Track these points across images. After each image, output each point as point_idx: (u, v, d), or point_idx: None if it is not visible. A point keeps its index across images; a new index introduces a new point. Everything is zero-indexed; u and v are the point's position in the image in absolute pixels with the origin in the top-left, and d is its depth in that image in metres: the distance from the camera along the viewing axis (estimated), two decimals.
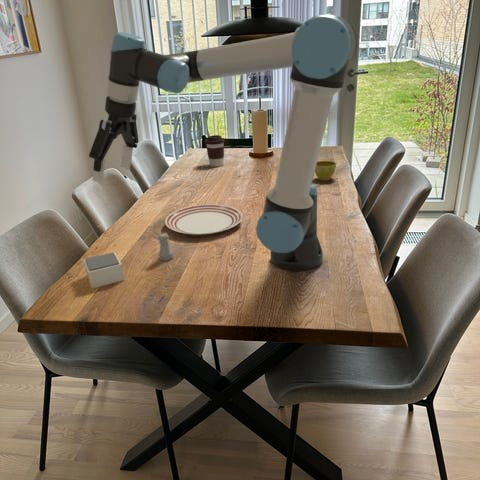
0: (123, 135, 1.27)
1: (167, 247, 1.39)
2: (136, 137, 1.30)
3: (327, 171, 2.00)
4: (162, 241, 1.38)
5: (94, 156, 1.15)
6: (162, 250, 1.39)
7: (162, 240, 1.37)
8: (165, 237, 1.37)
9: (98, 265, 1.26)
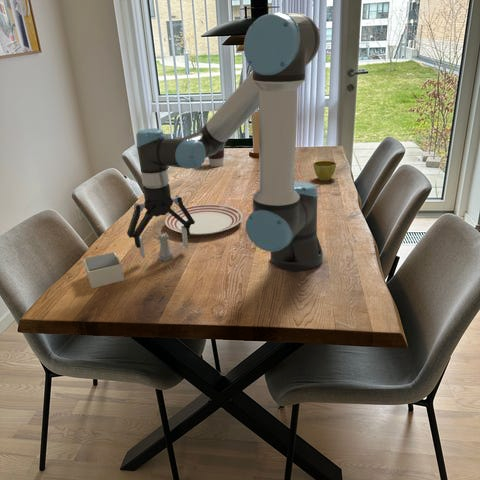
0: None
1: (167, 247, 1.39)
2: (189, 218, 1.39)
3: (327, 171, 2.00)
4: (162, 241, 1.38)
5: (128, 234, 1.33)
6: (162, 250, 1.39)
7: (162, 240, 1.37)
8: (165, 237, 1.37)
9: (98, 265, 1.26)
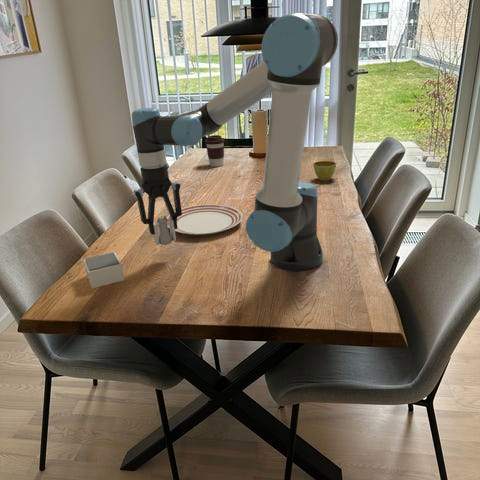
0: (165, 203, 1.35)
1: (166, 231, 1.36)
2: (178, 208, 1.36)
3: (327, 171, 2.00)
4: (161, 224, 1.35)
5: (142, 221, 1.33)
6: (161, 234, 1.36)
7: (161, 223, 1.35)
8: (164, 220, 1.35)
9: (98, 265, 1.26)
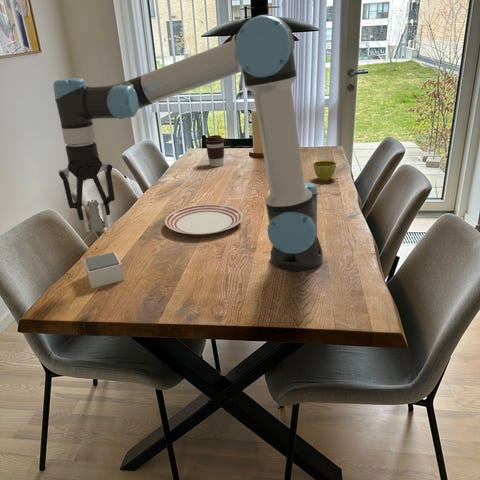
0: (96, 186, 1.23)
1: (97, 216, 1.24)
2: (110, 192, 1.23)
3: (327, 171, 2.00)
4: (91, 209, 1.23)
5: (69, 205, 1.20)
6: (91, 219, 1.24)
7: (91, 208, 1.22)
8: (94, 204, 1.22)
9: (98, 265, 1.26)
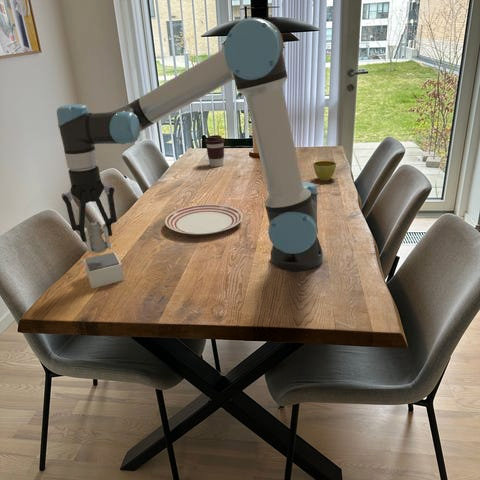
0: (98, 208, 1.25)
1: (99, 238, 1.26)
2: (113, 214, 1.25)
3: (327, 171, 2.00)
4: (93, 231, 1.25)
5: (72, 228, 1.22)
6: (94, 241, 1.26)
7: (93, 230, 1.24)
8: (96, 226, 1.24)
9: (98, 265, 1.26)
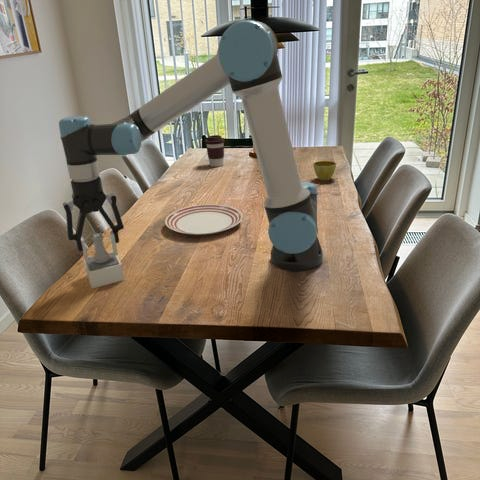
0: None
1: (102, 249, 1.27)
2: (119, 222, 1.26)
3: (327, 171, 2.00)
4: (96, 242, 1.26)
5: (68, 237, 1.23)
6: (96, 252, 1.27)
7: (96, 241, 1.26)
8: (99, 238, 1.25)
9: (98, 265, 1.26)
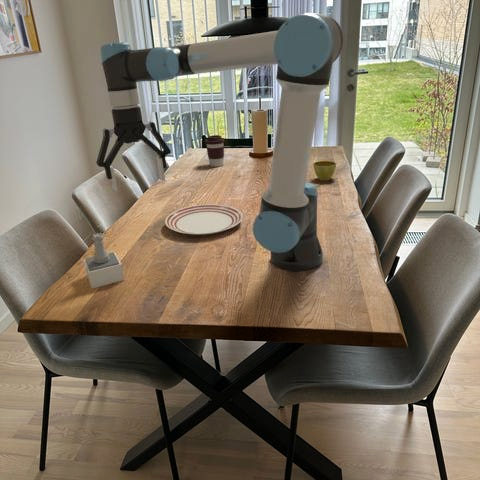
0: (148, 145, 1.27)
1: (102, 249, 1.27)
2: (164, 147, 1.28)
3: (327, 171, 2.00)
4: (96, 242, 1.26)
5: (97, 163, 1.21)
6: (96, 252, 1.27)
7: (96, 241, 1.26)
8: (99, 238, 1.25)
9: (98, 265, 1.26)
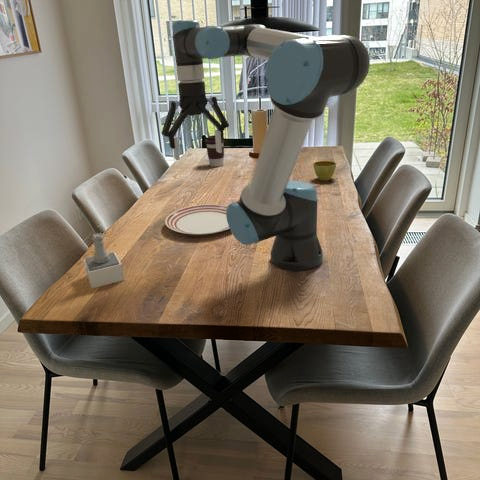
0: (208, 118, 1.36)
1: (102, 249, 1.27)
2: (223, 120, 1.37)
3: (327, 171, 2.00)
4: (96, 242, 1.26)
5: (163, 133, 1.31)
6: (96, 252, 1.27)
7: (96, 241, 1.26)
8: (99, 238, 1.25)
9: (98, 265, 1.26)
